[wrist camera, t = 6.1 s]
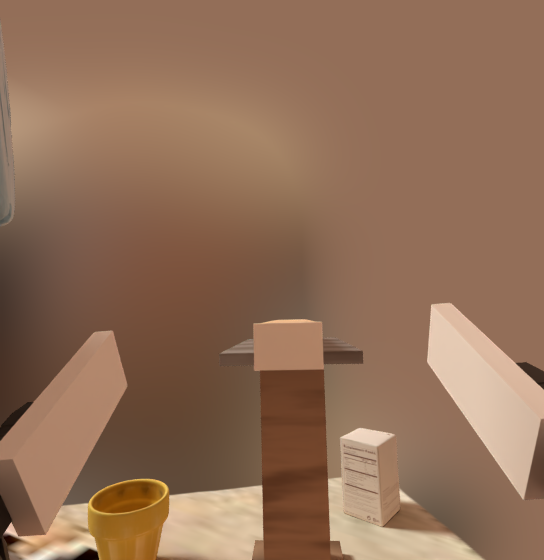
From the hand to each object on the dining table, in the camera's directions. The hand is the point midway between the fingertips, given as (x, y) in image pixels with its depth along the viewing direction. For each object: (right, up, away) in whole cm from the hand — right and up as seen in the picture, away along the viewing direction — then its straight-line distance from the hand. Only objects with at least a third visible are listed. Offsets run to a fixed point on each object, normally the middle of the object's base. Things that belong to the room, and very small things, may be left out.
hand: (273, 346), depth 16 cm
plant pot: (-19, -37, +36) cm, 55 cm away
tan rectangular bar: (+2, -5, +26) cm, 27 cm away
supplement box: (+17, -37, +49) cm, 64 cm away
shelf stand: (+3, -35, +30) cm, 47 cm away
